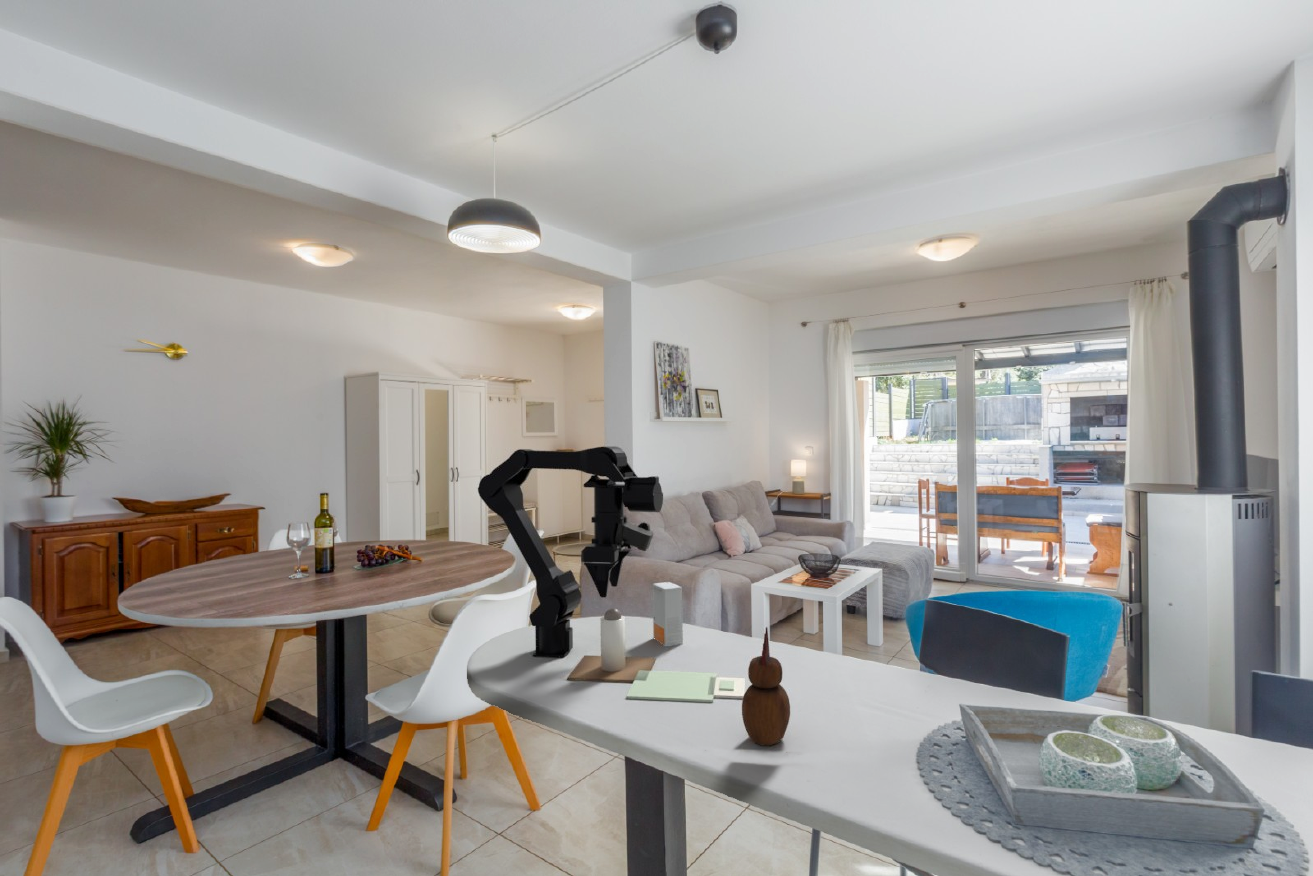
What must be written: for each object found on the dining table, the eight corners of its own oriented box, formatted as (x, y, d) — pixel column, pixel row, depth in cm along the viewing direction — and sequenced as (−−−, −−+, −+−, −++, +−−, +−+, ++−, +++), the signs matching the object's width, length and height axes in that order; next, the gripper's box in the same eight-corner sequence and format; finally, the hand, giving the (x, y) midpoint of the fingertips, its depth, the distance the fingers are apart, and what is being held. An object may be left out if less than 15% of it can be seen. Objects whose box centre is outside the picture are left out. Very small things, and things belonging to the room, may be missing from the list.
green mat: (626, 698, 103) (626, 696, 103) (639, 672, 114) (639, 670, 114) (713, 702, 101) (713, 699, 101) (716, 675, 112) (716, 673, 112)
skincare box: (652, 640, 134) (651, 583, 134) (670, 637, 135) (669, 581, 136) (665, 648, 128) (664, 589, 128) (683, 645, 130) (682, 586, 130)
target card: (707, 697, 103) (707, 692, 103) (710, 679, 111) (710, 675, 111) (744, 698, 102) (744, 694, 102) (745, 680, 110) (745, 676, 110)
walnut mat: (567, 679, 111) (567, 677, 111) (584, 657, 123) (584, 655, 123) (645, 683, 109) (645, 680, 109) (655, 660, 121) (655, 657, 121)
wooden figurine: (760, 725, 92) (758, 622, 92) (796, 736, 88) (794, 629, 89) (735, 742, 87) (733, 633, 87) (772, 755, 83) (771, 640, 83)
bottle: (598, 671, 114) (597, 611, 114) (604, 662, 119) (603, 605, 119) (623, 672, 114) (622, 611, 114) (627, 663, 118) (626, 605, 118)
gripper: (641, 516, 112) (641, 605, 112) (657, 506, 131) (657, 582, 130) (580, 516, 114) (580, 603, 114) (604, 506, 132) (604, 581, 132)
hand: (609, 591), depth 122 cm, fingers open, 9 cm apart
